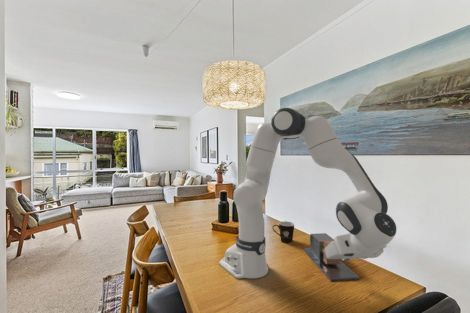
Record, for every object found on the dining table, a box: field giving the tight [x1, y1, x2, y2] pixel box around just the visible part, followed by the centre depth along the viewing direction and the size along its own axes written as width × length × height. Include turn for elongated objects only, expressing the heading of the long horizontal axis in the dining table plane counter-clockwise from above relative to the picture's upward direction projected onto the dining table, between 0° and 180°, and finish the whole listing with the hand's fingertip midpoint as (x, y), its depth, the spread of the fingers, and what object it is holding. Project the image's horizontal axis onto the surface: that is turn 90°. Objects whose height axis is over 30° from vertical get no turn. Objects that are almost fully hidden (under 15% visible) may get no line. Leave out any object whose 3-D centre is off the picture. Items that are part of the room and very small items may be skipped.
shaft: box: [322, 241, 341, 264], centre depth 108 cm, size 17×6×9 cm, turn 5°
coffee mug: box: [271, 220, 295, 244], centre depth 131 cm, size 12×9×10 cm
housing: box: [302, 232, 360, 282], centre depth 105 cm, size 28×12×10 cm, turn 5°
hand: (344, 258), depth 90 cm, fingers closed
